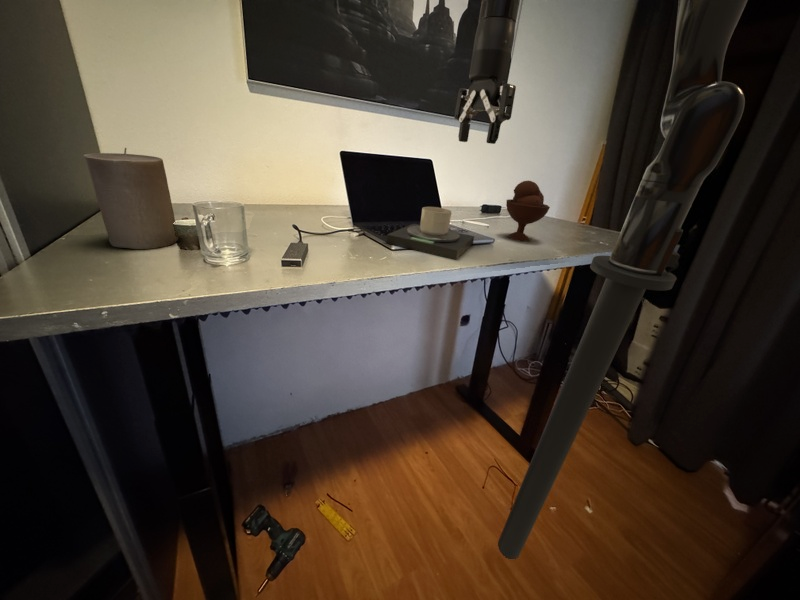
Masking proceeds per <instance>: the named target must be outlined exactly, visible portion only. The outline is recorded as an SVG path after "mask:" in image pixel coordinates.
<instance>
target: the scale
mask: <svg viewBox="0 0 800 600" xmlns="http://www.w3.org/2000/svg"><path fill="white" fill-rule="evenodd" d="M419 225H420V224H417V223H412V224H410V225H409V224H408V225H407V226H405V227H402V228H399V229H397V230H395V231H392V232H389V233H388V234H386V244H388V245H393V246H396V247H401V248H405V249H410V250H414V251H418V252H421V253H426V254H430V255H434V256H439V257H443V258H448V259H453V260H457V259H458V258H459V257H460V256H461V255H463V254H464V253H465V252H466V251H467V250H468V249H469V248H471V246H472V245H473V244H474V240H475V235H471V234H466V233H461V232H457V233H458V234H459V235H460V237H459V240H457V241H453V242H435V241H428V240H424V239H419V238H416V237H413V236H411V235H409V234H408V233H407V229H408V228H409V227H411V226H419Z"/></svg>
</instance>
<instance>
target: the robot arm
mask: <svg viewBox="0 0 800 600" xmlns="http://www.w3.org/2000/svg"><path fill="white" fill-rule="evenodd" d="M747 3H748V0H678V5H677V14H676V15H677V16H676V24H675V32H674V33H675V35H674V47H673V60H672V67H671V74H670V77H669V78H670V79H669V82H668V85H667V86H668V87H667V91H666V95H665V100H664V103H663V108H662V112H661V118H660V131H661V134H662V136H663V138H664V141H663V142H662V143H663V144H662V146H661V147H660V150H659V152H658V154H657V155H656V156H655V158H654V160H652V161H651V163H650V164H649V165H647V167H646V169H645V171H644V173H643V175H642V179H641V181H640V183H639V186H638V189H637V191H636V193H635V196H634V198H633V201H632V203H631V205H630V208H629V210H628V213H627V215H626V217H625V220H624V223H623V226H622V227H621V231H620V232H619V235H618V237H617V241H616V243H615V244H614V247H613V249H612V251H611V255H609V256H610V258H609V261H608V262H609V263H610V264H611V265H613V266H615V267H617V268H620V269H623V270H626V271H629V272H633V273H638V274H644V275H656V276H662V274H663V272H664V270H666V272H667V273H669V272H670V273H672V272H673V271H675V270H676V269H678V268H679V260H680V258H681V255H680V253H678V252H677V251H676V250H675V249H676V248H677V245H678V243H679V242H680V240H681V237H682V235H683V233H684V230H683V229H682V226H683V224H684V222H685V220H686V218H687V216H688V214H689V212H690V209H691V208H692V206H693V203H694V202H695V199H696V197H697V195H698V192H699V191H700V189H701V186H703V185H702V184H703V182H704V181H705V179H706V178H707V177H708V176H709V175H710V174H711V172H713V170H714V169H715V167H716V166H717V165H718V163H719V161H720V160H721V158H722V156H723V154H724V152H725V151H726V148H727V146H728V145H729V143H730V141H731V139H732V137H733V136H734V133H735V132H736V130H737V127H738V126H739V123H740V121H741V119H742V116H743V113H744V110H745V104H746V99H745V94H744V91H743V90H742V89H741V87H739V86H738V85H737V84H735V83H733V82H729V81H722V78H723V69H724V62H725V58H726V57H725V56H726V53H727V50H728V46H729V43H730V41H731V39H732V36H733V34H734V31H735V29H736V27H737V25H738V23H739V21H740V19H741V17H742V14H743V12H744V10H745V8H746V5H747ZM520 4H521V0H481V3H480V10H479V16H478V23H477V28H476V30H475V31H476V32H475V36H474V39H473V40H474V42H473V47H472V54H471V61H470V67H469V74H468V78H469V80H470V86H469V88H468V89H467V88H463V87H460V88H459V89H458V93H457V98H456V103H455V110H454V115H453V118H454V120H457V121H459V129H458V141H459V142H460V143H461V142H462V143H467V142H468V141H469V136H470V135H469V134H470V129H471V121H472V120H473V118H474V117H475V116H476V115H478V113H479V112H486V113H487V114H488V117H489V119H490V122H489V125H488V129H487V135H486V143H487V144H490V145H495V144H496V143H497V141H498V139H499V135H500V132H501V131H500V130H501V126H502V124H503V122H506V121H509V120H511V118H512V113H513V107H514V102H515V101H514V100H515V97H516V96H515V94H516V90H517V87H516V85H514V84H511V83H509V82H506V81H507V77H508V72H509V68H510V62H511V57H512V51H513V47H514V41H515V33H516V24H517V20H518V19H517V18H518V13H519V8H520ZM504 82H505V83H504ZM666 268H668V269H666Z"/></svg>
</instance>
